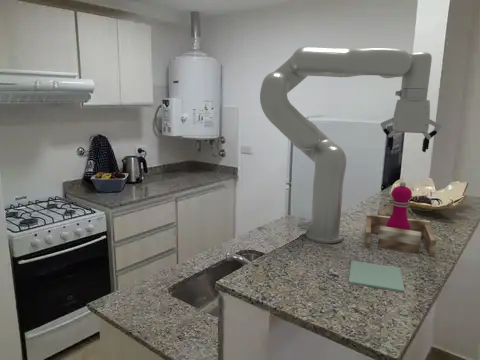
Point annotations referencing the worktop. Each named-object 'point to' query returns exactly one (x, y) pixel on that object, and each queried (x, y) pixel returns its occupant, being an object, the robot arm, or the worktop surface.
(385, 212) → the clay tablet
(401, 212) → the pepper mill
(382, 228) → the birch offcut
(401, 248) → the walnut offcut
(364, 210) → the worktop surface
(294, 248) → the worktop surface
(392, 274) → the green mat
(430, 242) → the oak rack
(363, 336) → the worktop surface
